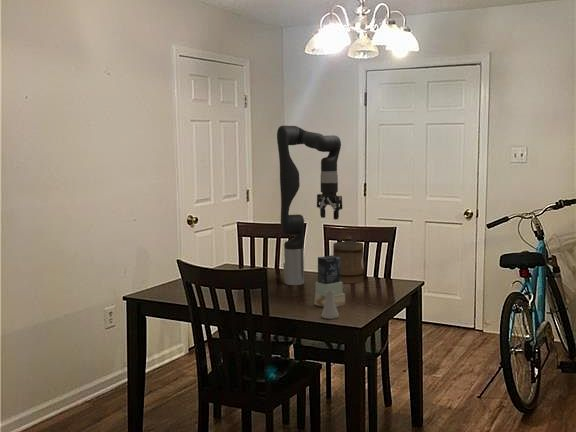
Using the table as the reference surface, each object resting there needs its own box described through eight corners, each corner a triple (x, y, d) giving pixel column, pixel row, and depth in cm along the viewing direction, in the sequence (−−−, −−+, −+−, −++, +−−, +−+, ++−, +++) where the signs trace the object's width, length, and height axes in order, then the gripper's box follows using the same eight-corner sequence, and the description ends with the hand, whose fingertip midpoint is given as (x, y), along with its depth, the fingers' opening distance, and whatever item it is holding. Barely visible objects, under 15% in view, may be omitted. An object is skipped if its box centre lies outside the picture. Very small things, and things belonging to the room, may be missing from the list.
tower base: (314, 305, 273) (314, 293, 272) (330, 301, 278) (330, 290, 278) (329, 309, 266) (329, 297, 265) (345, 305, 271) (345, 293, 271)
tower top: (315, 293, 272) (315, 282, 271) (329, 290, 277) (329, 279, 276) (328, 297, 266) (328, 285, 265) (342, 293, 271) (342, 282, 270)
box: (326, 284, 266) (325, 259, 265) (317, 282, 271) (317, 257, 269) (340, 281, 271) (340, 256, 269) (332, 279, 275) (331, 254, 274)
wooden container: (369, 281, 315) (369, 236, 313) (345, 285, 308) (345, 239, 305) (350, 275, 328) (350, 232, 325) (326, 279, 320) (326, 235, 317)
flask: (319, 314, 257) (319, 290, 256) (337, 314, 257) (337, 289, 256) (322, 319, 250) (321, 294, 248) (340, 319, 250) (340, 293, 249)
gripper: (312, 181, 287) (312, 217, 289) (333, 182, 275) (333, 220, 277) (324, 180, 291) (325, 216, 293) (346, 181, 280) (346, 219, 282)
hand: (329, 218), depth 285 cm, fingers open, 8 cm apart
